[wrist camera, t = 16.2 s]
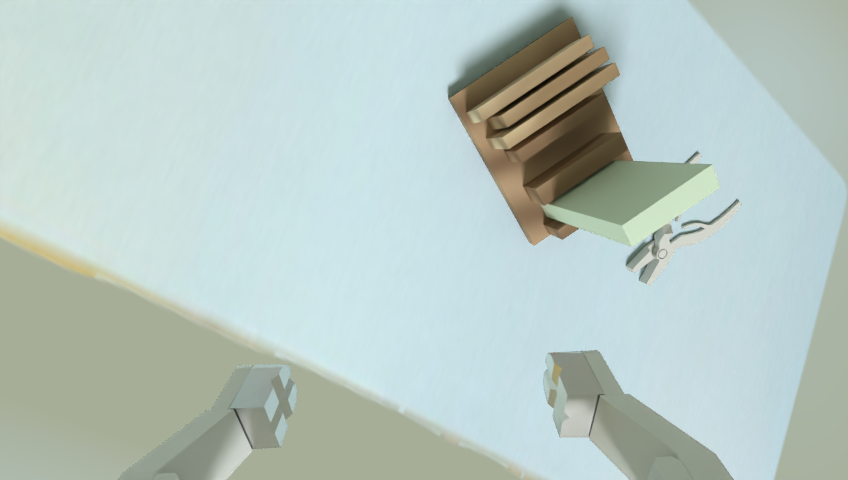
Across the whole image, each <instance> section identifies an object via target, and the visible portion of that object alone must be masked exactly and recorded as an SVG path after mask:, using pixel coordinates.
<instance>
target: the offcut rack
mask: <svg viewBox="0 0 848 480" xmlns="http://www.w3.org/2000/svg"><path fill="white" fill-rule="evenodd" d="M592 48H594V45H593V42H592V40H591V37H590V35H589V34H588V35H586V36H584V37H582V38H581V37H580V34H579V32H578V30H577V27H576V25H575V23H574V20H573V18H572V17H570V18H569V19H567V20H566V21H564V22H563V23H561V24H560V25H558V26H557V27H555V28H554V29H552V30H551V31H549V32H548V33H546V34H545V35H543V36H542V37H540V38H539V39H537V40H536V41H534V42H533V43H531V44H530V45H528V46H527V47H525V48H524V49H522V50H521V51H519V52H518V53H516V54H515V55H513V56H512V57H510V58H509V59H507V60H506V61H504V62H503V63H501V64H500V65H498V66H497V67H495V68H494V69H492V70H491V71H489V72H488V73H486V74H485V75H483V76H482V77H480V78H479V79H477V80H476V81H474V82H473V83H471V84H470V85H468V86H467V87H465V88H464V89H462V90H461V91H459V92H458V93H456V94H455V95H453V96H452V97H450V98H449V101H450V103H451V104H452V106H453V108H454V110H455V111H456V113H457V115H458V117H459V119H460V120H461V122H462V124H463V126H464V127H465V129H466V131H467V133H468V134H469V136H470V138H471V140H472V142H473V143H474V145H475V147H476V149H477V150H478V152H479V154H480V156H481V158H482V159H483V161H484V163H485V165H486V166H487V168H488V170H489V172H490V174H491V175H492V177H493V179H494V181H495V182H496V184H497V186H498V188H499V189H500V191H501V193H502V195H503V197H504V198H505V200H506V202H507V204H508V205H509V207H510V209H511V211H512V213H513V214H514V216H515V218H516V220H517V221H518V223H519V225H520V227H521V229H522V230H523V232H524V234H525V236H526V237H527V239H528V241H529V243H531V244H533V245H536V244H537V243H539V242H540V241H542V240H543V239H545V238H546V237H548V236H549V235H553V236H556V237H558V238H560V239H562V240H563V239H564V238H566V237H567V236H569V235H570V234H572V233H573V232H575V231H576V230H578V229H579V228H577V227H575V226H572V225H569V224H566V223H563V222H561V221H558V220H555V219H552V218H550V217H547V216H546V214H545V212H544V210H543V208H542V206H541V205H544V206H545V205H547V204H548V203H550V202H551V201H553V200H554V199H556V198H557V197H559V196H560V195H562V194H563V193H565V192H566V191H568V190H569V189H571V188H572V187H574V186H575V185H577V184H578V183H580V182H581V181H582V180H584V179H585V178H587V177H588V176H590V175H591V174H593V173H594V172H596V171H597V170H599V169H600V168H602V167H603V166H605V165H606V164H608V163H609V162H611V161H612V160H619V161H633V159H632V157H631V154H630V152H629V150H628V147H627V145H626V143H625V140H624V138H623V136H622V133H621V131H620V129H619V126H618V124H617V122H616V119H615V117H614V114H613V112H612V110H611V107H610V105H609V103H608V100H607V98H606V96H605V93H604V91H603V89H602V87H603V86H604V85H606V84H607V83H609V82H610V81H612V80H613V79H615V78H616V77H618V76H619V75H620V73H619V71H618V68H617V66H616V63H615V62H614V63H611V64H608V65H605V66H603V67H600V68H597V67H599V66H600V65H602V64H603V63H605V62H606V61H608V60H609V57H608V54H607V52H606V49H605V47H602V48H600V49H598V50H595V51H593V52H590V53H587V52H588V51H589V50H591V49H592ZM596 68H597V69H596Z"/></svg>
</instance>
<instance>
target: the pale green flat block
mask: <svg viewBox="0 0 848 480" xmlns="http://www.w3.org/2000/svg"><path fill="white" fill-rule="evenodd" d="M719 188H720V185H719V182H718V179H717V177H716V174H715V171H714V168H713V165H712V164H690V163H666V162H643V161H619V160H612V161H611V162H609V163H608V164H606V165H605V166H603V167H602V168H600V169H599V170H597V171H596V172H594V173H593V174H591V175H590V176H588V177H587V178H585V179H584V180H582V181H581V182H580V183H578V184H577V185H575V186H574V187H572V188H571V189H569V190H568V191H566V192H565V193H563V194H562V195H560V196H559V197H557V198H556V199H554V200H553V201H551V202H550V203H548V204H547V205H545V206H544V205H541V206H542V208H543V210H544V212H545V214H546V216H547V217H550V218H552V219H555V220H558V221H561V222H563V223H566V224H569V225H572V226H575V227H577V228H580V229H583V230H586V231H588V232H591V233H594V234H597V235H600V236H602V237H605V238H608V239H611V240H613V241H616V242H619V243H622V244H625V245H627V246H630V247H633V246H635V245H636V244H638V243H639V242H640V241H642V240H643V239H645V238H646V237H648V236H649V235H651V234H652V233H654V232H655V231H657V230H658V229H660V228H661V227H663V226H664V225H666V224H667V223H668V222H670V221H671V220H673V219H674V218H676V217H677V216H679V215H680V214H682V213H683V212H685V211H686V210H688V209H689V208H691V207H692V206H694V205H695V204H696V203H698V202H699V201H701V200H702V199H704V198H705V197H707V196H708V195H710V194H711V193H713V192H714V191H716V190H717V189H719Z"/></svg>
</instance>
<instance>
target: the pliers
mask: <svg viewBox="0 0 848 480" xmlns="http://www.w3.org/2000/svg"><path fill="white" fill-rule="evenodd" d="M701 157H702V156H701V155H700V154H696V155H695V156H693V157H692V158H691V159H690V160H689V161H688V162H687V163H690V164H696V163H697V162H698V161H699V159H700V158H701ZM740 205H741V203H740V202H739V201H736V202H735V203H734V204H733V205H732V206H731V207H730V208H729V209H728V210H727V211H725V212H724V213H723V214H722V215H721V216H720V217H718V218H717V219H716V220H714V221H713V222H712V223H710V224H702V223H689V224H686V225H683V226H681V228H683V229H685V228H688V227H691V226H700V227H701V228H702V229H700V230H698V231H696V232H692V233H688V234H682V235H679V236H677V237H676V238H674V239H673V240H672V241H669V239H670V237H671V236H672V234H673V232H672V228H671V221H670V222H668V223H667V224H666V225H664V226H663V227H661V228H660V229H658V230H657V231H656V233H655V234H654V240H653V241H652V242H650V243H649V244H647V245H646V246H645V247H644V248H643V249H642V250H641V251H640V252H639V253H638V254H637V255H636V256H635V257H634V258H633V259H632V260H631V261H630V262H629V263H628V264H627V265H626V268H627V269H628V270H629V271H631V272H634V273H635V272H637V271H638V270H639V269H641V268H642V267H643V266H645V265H646V264H648V265H647V267H646V269H645V270H644V272H643V274H642V276H641V277H640V279H639V281H641V282H644V283H646V284H648V285H651V284H652V283H653V282H654V280H655V279H656V278H657V277H658V275H659V274H660V273H661V272H662V270H663V269H664V268H665V267H666V266H667V264H668V263H669V261H670V259H671V257H672V256H673V254H674V250H675V249H677V248H680V247H682V246H688V245H693V244H696V243H698V242H701V241H703V240H704V239H706V238H708V237H709V236H711V235H712V234H714V233H715V232H716V231H718V230H719V229H720V228H721V227H722V226H724V225H725V224H726V223H727V222H728V221H729V219H730V218H731V217H732V216H733V215H734V213H735V212H736V211H737V209H738V208H739V207H740ZM680 217H681V214H680V215H679V216H677V217H676V218H675V221H678V222H679V220H680Z"/></svg>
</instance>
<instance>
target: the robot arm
mask: <svg viewBox="0 0 848 480" xmlns="http://www.w3.org/2000/svg"><path fill="white" fill-rule="evenodd" d="M545 362H546V365H547V368H548V369H547V370H546V371H545V372H544V377H543V384H544V391H545V396H546V399H547V402H548V404H549V405H550V406H551V407H553V408H554V411H553V420H554V422H555V425H556V428H557V431H558V434H559V437H560V438H562V437H589V439H590V440H591V441H592V442H593V443H594V444H595V445H596V446H597V447H598V448H599V449H600V450H601V451H602V452H603V453H604V454H605V455H606V456H607V458H608V459H609V460H610V461H611V462H612V463H613V464H614V465H615V466H616V467H617V468H618V469H619V470H620V471H621V472H622V473H623V474H624V475H625V476H626V477H627V478H628V479H629V480H734V479H733V478H732V477H731V475H730V474H729V472H728V471H727V469H726V468H725V467H724V465H723V464H722V462H721V461H720V460H719V458H718V457H717V455H716V454H715V453H713V452H712V451H711V450H709V449H708V448H706V447H705V446H703V445H702V444H701V443H699V442H698V441H696V440H695V439H693V438H692V437H690V436H689V435H688V434H686V433H685V432H683V431H682V430H680V429H679V428H678V427H676V426H675V425H673V424H672V423H670V422H669V421H667V420H666V419H665V418H663V417H662V416H660V415H659V414H657V413H656V412H654V411H653V410H652V409H650V408H649V407H647V406H646V405H644V404H643V403H642V402H640V401H639V400H637V399H636V398H634V397H633V396H631V395H630V394H624V393H623V391H622V389H621V388H620V386H619V384H618V382H617V381H616V379H615V377H614V376H613V374H612V372H611V370H610V369H609V367H608V365H607V363H606V362H605V360H604V358H603V357H602V355H601V353H600V352H599V351H597V350H594V351H573V352H554V353H548V354H547V355H546V361H545ZM290 374H291V370H290V368H289V365H286V364H275V365H274V364H272V365H271V364H270V365H239V366H238V367H237V368H236V369H235V370H234V372H233V373H232V375H231V377H230V378H229V380H228V382H227V383H226V385H225V387H224V388H223V390H222V392H221V394H220V395H219V397H218V399H217V400H216V402H215V404H214V405H213V407H212V409H211V410H206V411H204V412H203V413H202V414H201V415H199V416H198V417H196V418H195V419H194V420H193V421H191V422H190V423H189V424H187V425H186V426H184V427H183V428H182V429H181V430H179V431H178V432H177V433H175V434H174V435H173V436H171V437H170V438H169V439H167V440H166V441H165V442H163V443H162V444H161V445H159V446H158V447H157V448H155V449H154V450H153V451H151V452H150V453H149V454H147V455H146V456H145V457H144V458H142V459H141V460H139V461H138V462H137V463H135V464H134V465H133V466H132V467H130V468H129V469H127V470H126V471H125V472H123V473H122V475H121V476H120V477H119V479H118V480H226V479H227V478H228V477H229V476H230V475H231V474H232V473H233V472H234V470H235V469H236V468H237V467H238V466H239V465H240V464H241V463H242V462H243V461H244V460H245V458H246V457H247V456H248V455H249V454H250V453H251V452H252V449H262V448H278V447H281V444H282V441H283V439H284V436H285V433H286V430H287V428H288V425H287V423H286V419H287V418H288V417H289V416H290V415H291V414H292V413H293V411H294V408H295V405H296V398H297V392H296V386H295V383H294V382H293V381H292V380H291V379H289V377H290Z"/></svg>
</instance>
